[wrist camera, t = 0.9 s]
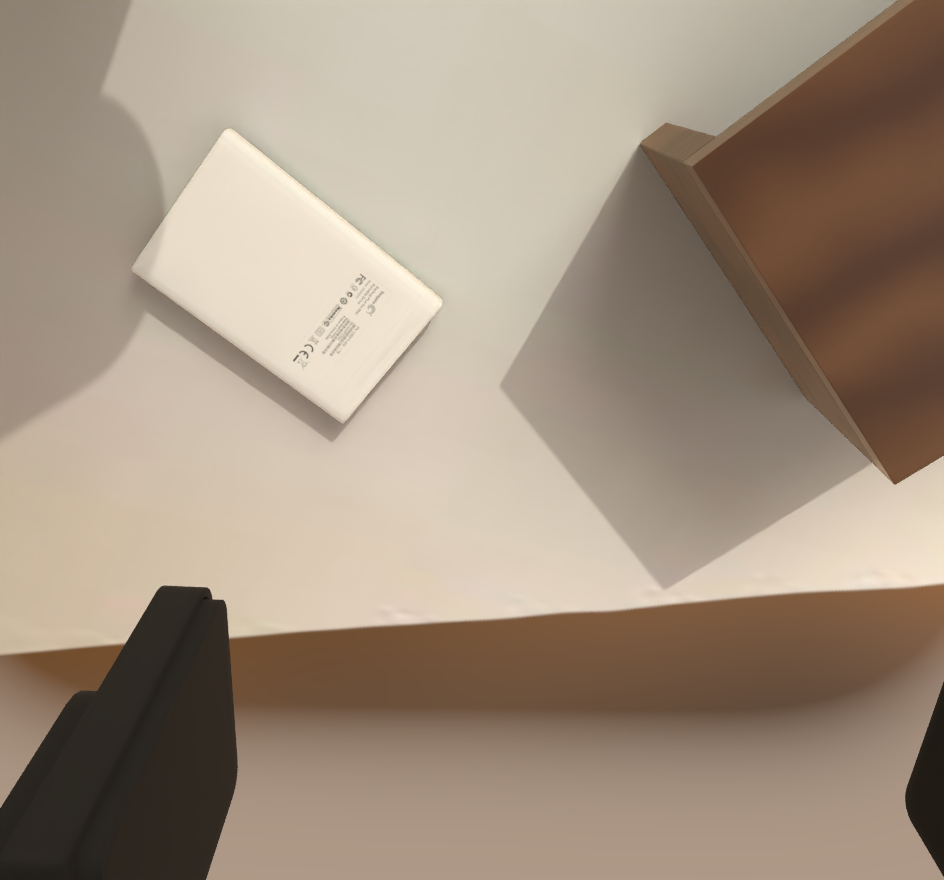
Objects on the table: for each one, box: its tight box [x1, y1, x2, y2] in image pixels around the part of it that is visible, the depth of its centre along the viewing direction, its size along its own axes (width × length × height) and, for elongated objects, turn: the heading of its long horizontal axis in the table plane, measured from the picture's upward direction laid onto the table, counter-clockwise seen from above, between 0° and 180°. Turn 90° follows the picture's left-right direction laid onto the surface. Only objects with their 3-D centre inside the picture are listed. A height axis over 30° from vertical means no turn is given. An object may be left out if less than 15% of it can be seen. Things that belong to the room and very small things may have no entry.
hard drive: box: [131, 129, 443, 424], centre depth 41 cm, size 2×8×12 cm
